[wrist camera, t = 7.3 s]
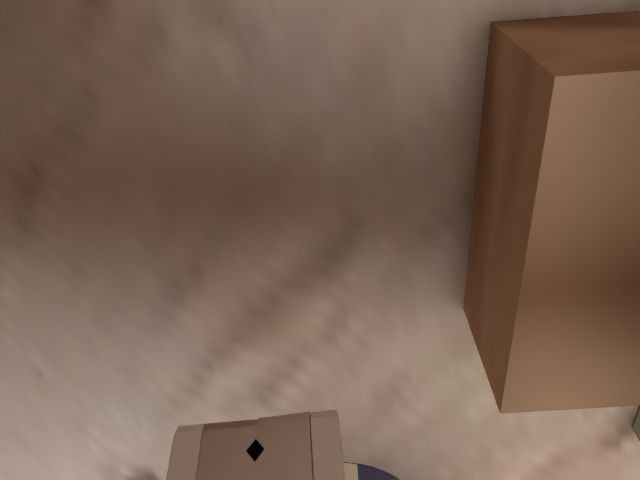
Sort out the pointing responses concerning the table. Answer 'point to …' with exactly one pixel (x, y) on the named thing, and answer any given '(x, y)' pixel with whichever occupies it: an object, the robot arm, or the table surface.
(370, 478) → the water bottle
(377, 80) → the table surface
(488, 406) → the table surface
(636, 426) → the green board
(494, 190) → the walnut block
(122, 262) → the table surface
